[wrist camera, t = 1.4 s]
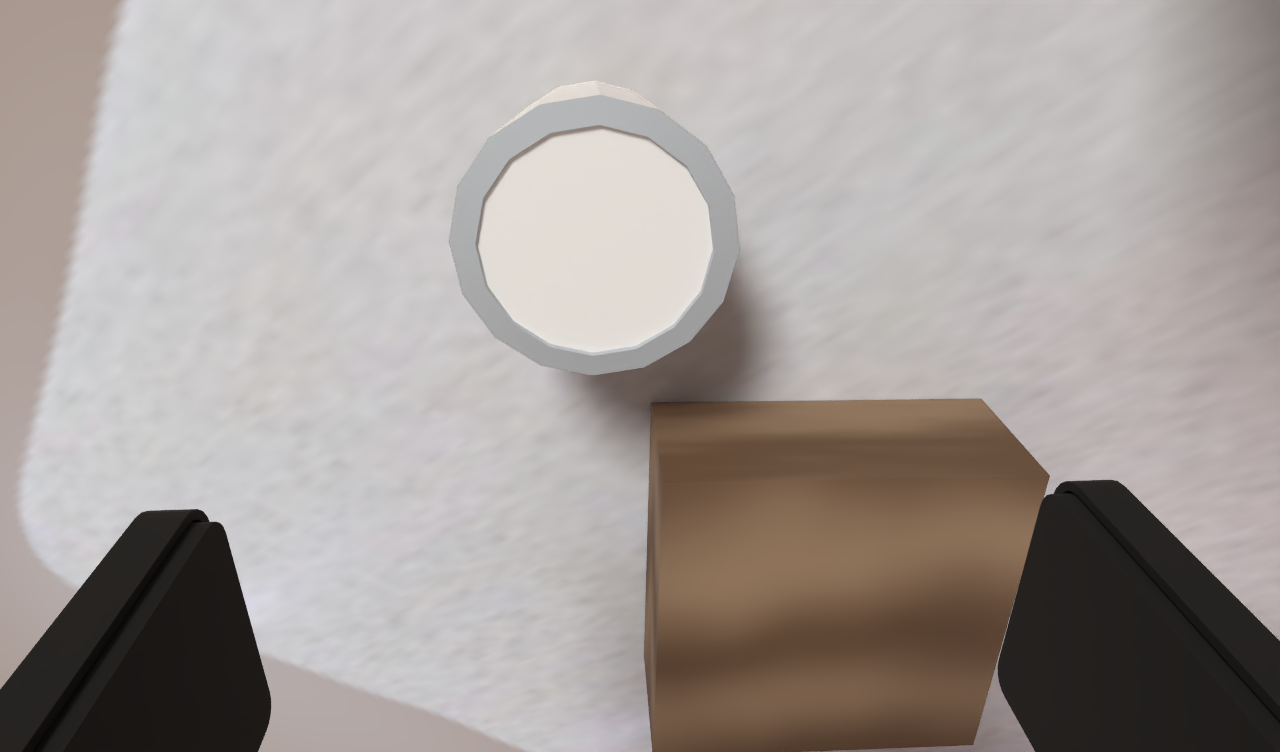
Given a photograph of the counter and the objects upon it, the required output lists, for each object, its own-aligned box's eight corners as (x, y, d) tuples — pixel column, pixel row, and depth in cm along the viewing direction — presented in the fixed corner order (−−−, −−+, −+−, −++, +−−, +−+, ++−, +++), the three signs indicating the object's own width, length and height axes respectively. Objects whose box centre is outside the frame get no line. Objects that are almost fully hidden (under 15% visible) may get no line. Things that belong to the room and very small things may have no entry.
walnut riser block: (651, 403, 30) (662, 482, 25) (981, 398, 30) (1049, 475, 26) (644, 654, 35) (652, 757, 31) (924, 646, 36) (973, 744, 31)
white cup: (589, 320, 28) (590, 426, 22) (433, 169, 26) (385, 241, 19) (748, 182, 26) (799, 254, 20) (597, 4, 24) (602, 24, 18)
